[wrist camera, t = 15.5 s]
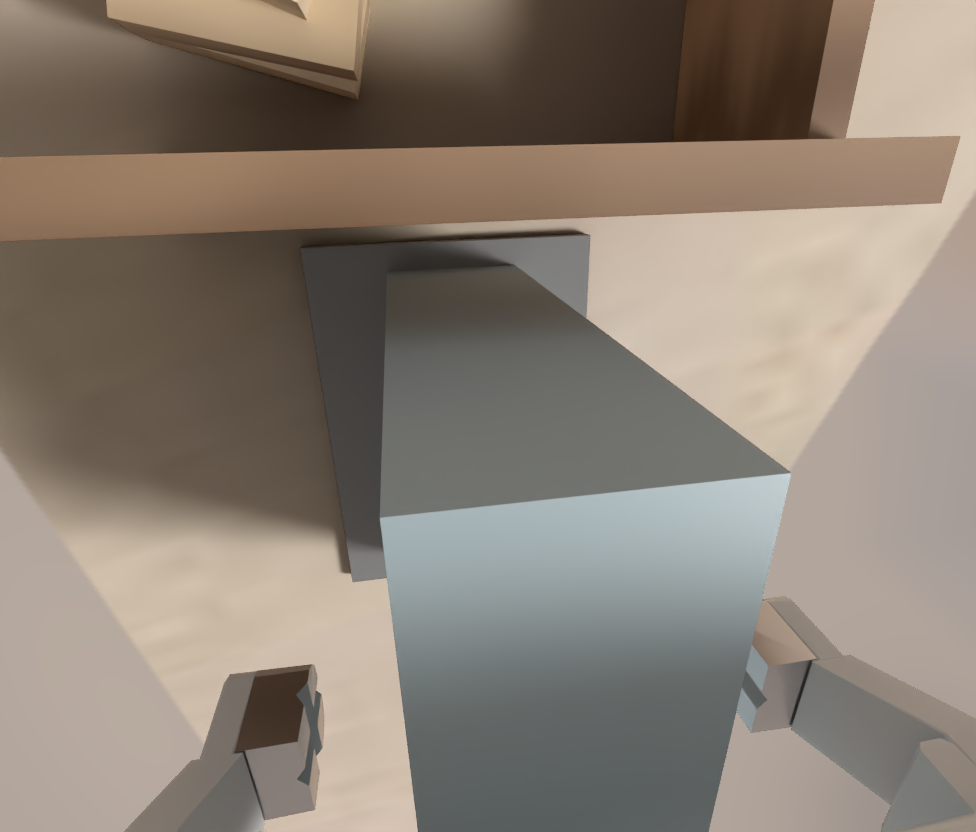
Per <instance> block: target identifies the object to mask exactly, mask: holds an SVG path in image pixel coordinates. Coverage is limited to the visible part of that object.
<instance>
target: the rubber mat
mask: <svg viewBox="0 0 976 832" xmlns="http://www.w3.org/2000/svg"><path fill="white" fill-rule="evenodd" d="M589 251H590V235H588V234H572V235H550V236H527V237H505V238H483V239H460V240H438V241H416V242H393V243H371V244H349V245H326V246H304V247H301V248H300V252H301V259H302V265H303V271H304V278H305V284H306V290H307V297H308V303H309V309H310V316H311V322H312V328H313V335H314V341H315V347H316V354H317V360H318V366H319V373H320V379H321V385H322V391H323V398H324V404H325V410H326V417H327V423H328V429H329V436H330V442H331V448H332V455H333V461H334V467H335V474H336V480H337V486H338V493H339V499H340V505H341V512H342V518H343V524H344V530H345V537H346V543H347V549H348V556H349V562H350V568H351V575H352V581H353V582H359V581H366V580H374V579H382V578H387V573H386V565H385V557H384V549H383V541H382V532H381V524H380V492H381V459H382V426H383V393H384V360H385V326H386V293H387V271H407V270H427V269H448V268H468V267H488V266H509V265H516V266H517V267H518V268H520V269H521V270H522V271H524V272H525V273H526V274H528V275H529V276H530V277H532V278H533V279H534V280H536V281H537V282H538V283H540V284H541V285H542V286H544V287H545V288H546V289H548V290H549V291H550V292H552V293H553V294H554V295H555V296H557V297H558V298H559V299H561V300H562V301H563V302H565V303H566V304H567V305H569V306H570V307H571V308H573V309H574V310H575V311H577V312H578V313H579V314H581V315H582V316H583V317H585V318H586V313H587V292H588V272H589Z"/></svg>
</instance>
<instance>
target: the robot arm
mask: <svg viewBox="0 0 976 832" xmlns="http://www.w3.org/2000/svg"><path fill="white" fill-rule="evenodd" d="M317 678H318V677H317V673H316V669H315V665H312V664H310V665H302V666H293V667H285V668H276V669H267V670H259V671H254V672H245V673H237V674H230V675H229V677H228V678H227V680H226V681H225V683H224V685H223V689H222V692H221V695H220V698H219V701H218V704H217V707H216V710H215V713H214V716H213V720H212V723H211V726H210V729H209V732H208V735H207V738H206V741H205V744H204V748H203V751H202V754H201V757H200V759H198V760H192V761H190V762H189V763H188V764H187V765H186V766H185V768H184V769H183V770H182V771H181V772H180V773H179V774H178V775H177V776H176V777H175V778H174V779H173V780H172V781H171V782H170V783H169V784H168V786H167V787H166V788H165V789H164V790H163V791H162V792H161V793H160V794H159V795H158V796H157V797H156V798H155V799H154V800H153V801H152V802H151V804H150V805H149V806H148V807H147V808H146V809H145V810H144V811H143V812H142V813H141V814H140V815H139V816H138V817H137V818H136V819H135V821H134V822H133V823H132V824H131V825H130V826H129V827H128V828H127V829H126V830H125V831H124V832H260V831H261V829H262V828H263V826H264V825H265V821H264V820H269V819H273V818H278V817H283V816H288V815H293V814H298V813H302V812H307V811H312V810H315V806H316V797H317V789H318V781H319V773H320V772H319V767H318V763H317V758H316V756H317V754H318V753H319V752H320V750H321V749H322V747H323V737H324V709H323V701H322V696H321V694H320V693H319V692H317V691H316V686H317ZM736 711H737V712H738V713H739V715H740V717H741V718H742V720H743V721H744V723H745V725H746V726H747V728H748V729H749V731H750V732H751V733H753V732H760V731H766V730H774V729H780V728H787V727H792V728H791V730H793V731H794V732H795V733H797V734H798V735H799V736H800V737H802V738H803V739H804V740H806V741H807V742H808V743H810V744H811V745H812V746H814V747H815V748H816V749H818V750H819V751H820V752H821V753H823V754H824V755H825V756H827V757H828V758H829V759H831V760H832V761H833V762H835V763H836V764H837V765H839V766H840V767H841V768H843V769H844V770H845V771H847V772H848V773H849V774H850V775H852V776H853V777H854V778H856V779H857V780H859V781H860V782H861V783H863V784H864V785H865V786H866V787H868V788H869V789H870V790H871V791H873V792H874V793H875V794H877V795H878V796H879V797H881V798H882V799H883V800H885V801H886V802H887V803H889V804H890V805H891V806H890V808H889V810H888V813H887V815H886V817H885V819H884V822H883V823H882V828H881V832H976V719H975V718H973V717H971V716H969V715H967V714H965V713H963V712H962V711H959V710H957V709H955V708H953V707H952V706H950V705H948V704H946V703H944V702H942V701H940V700H938V699H936V698H934V697H932V696H930V695H928V694H926V693H924V692H922V691H920V690H918V689H916V688H914V687H912V686H910V685H908V684H906V683H904V682H902V681H900V680H898V679H897V678H894V677H893V676H891V675H889V674H887V673H885V672H883V671H881V670H879V669H877V668H875V667H873V666H871V665H869V664H867V663H865V662H863V661H861V660H859V659H857V658H855V657H853V656H851V655H847V656H843V655H842V654H841V653H840V652H839V651H838V650H837V648H836V647H835V646H834V645H833V644H832V643H831V642H830V641H829V640H828V639H827V638H826V637H825V635H824V634H823V633H822V632H821V631H820V630H819V629H818V628H817V627H816V626H815V625H814V624H813V623H812V621H811V620H810V619H809V618H808V617H807V616H806V615H805V614H804V613H803V612H802V611H801V610H800V609H799V607H797V605H796V604H795V603H794V602H793V601H792V600H791V599H789V598H787V597H785V596H781V597H775V598H768V599H762V602H761V607H760V611H759V615H758V620H757V624H756V628H755V633H754V637H753V641H752V646H751V650H750V654H749V659H748V663H747V667H746V672H745V676H744V680H743V685H742V689H741V693H740V697H739V702H738V706H737V710H736Z"/></svg>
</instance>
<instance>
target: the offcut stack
mask: <svg viewBox="0 0 976 832" xmlns="http://www.w3.org/2000/svg"><path fill="white" fill-rule="evenodd" d="M371 2H372V0H106V5H107V17H108V18H110V19H112V20H113V21H115V22H117V23H119V24H120V26H122V27H124V28H126V29H128V30H130V31H132V32H134V33H135V34H137V35H139V36H141V37H143V38H145V39H147V40H150V41H153V42H157V43H160V44H164V45H167V46H171V47H174V48H178V49H181V50H185V51H188V52H192V53H195V54H199V55H202V56H206V57H209V58H213V59H216V60H220V61H223V62H227V63H230V64H234V65H237V66H241V67H244V68H248V69H251V70H255V71H258V72H262V73H265V74H269V75H272V76H276V77H279V78H283V79H286V80H289V81H293V82H296V83H300V84H303V85H307V86H310V87H314V88H317V89H321V90H324V91H328V92H331V93H335V94H338V95H342V96H345V97H349V98H352V99H356V100H358V98H359V90H360V83H361V75H362V68H363V61H364V53H365V46H366V39H367V31H368V24H369V16H370V9H371Z"/></svg>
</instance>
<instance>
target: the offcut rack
mask: <svg viewBox="0 0 976 832" xmlns="http://www.w3.org/2000/svg"><path fill="white" fill-rule="evenodd" d="M874 2H875V0H687V1H686V11H685V21H684V31H683V41H682V51H681V61H680V71H679V81H678V91H677V101H676V111H675V121H674V131H673V141H672V142H665V143H620V144H574V145H528V146H483V147H437V148H392V149H346V150H300V151H255V152H209V153H164V154H118V155H72V156H27V157H0V241H22V240H46V239H71V238H96V237H120V236H145V235H169V234H194V233H219V232H243V231H268V230H293V229H317V228H342V227H366V226H391V225H416V224H440V223H465V222H489V221H514V220H539V219H563V218H588V217H613V216H637V215H662V214H686V213H711V212H736V211H760V210H785V209H809V208H834V207H859V206H883V205H908V204H933V203H941V202H942V198H943V195H944V192H945V188H946V185H947V181H948V178H949V174H950V171H951V167H952V164H953V160H954V157H955V154H956V150H957V147H958V143H959V140H960V136H939V137H893V138H848V139H845V137H846V133H847V128H848V123H849V119H850V114H851V109H852V105H853V100H854V95H855V91H856V86H857V81H858V77H859V72H860V67H861V63H862V58H863V53H864V49H865V44H866V39H867V35H868V30H869V25H870V21H871V16H872V11H873V6H874Z"/></svg>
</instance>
